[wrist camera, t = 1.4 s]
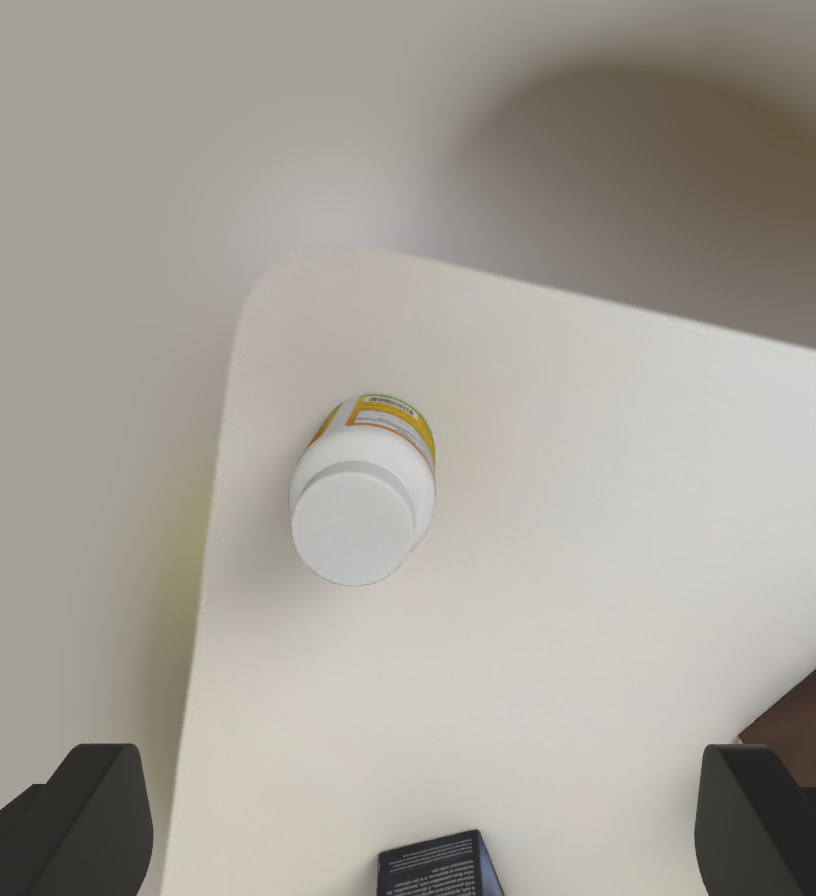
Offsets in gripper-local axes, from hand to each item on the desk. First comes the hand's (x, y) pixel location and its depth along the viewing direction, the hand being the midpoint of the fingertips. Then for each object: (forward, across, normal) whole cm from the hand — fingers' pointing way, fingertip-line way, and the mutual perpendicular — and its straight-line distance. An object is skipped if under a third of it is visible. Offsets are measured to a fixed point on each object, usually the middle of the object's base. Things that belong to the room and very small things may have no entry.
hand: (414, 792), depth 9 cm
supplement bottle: (+21, +2, +1) cm, 21 cm away
